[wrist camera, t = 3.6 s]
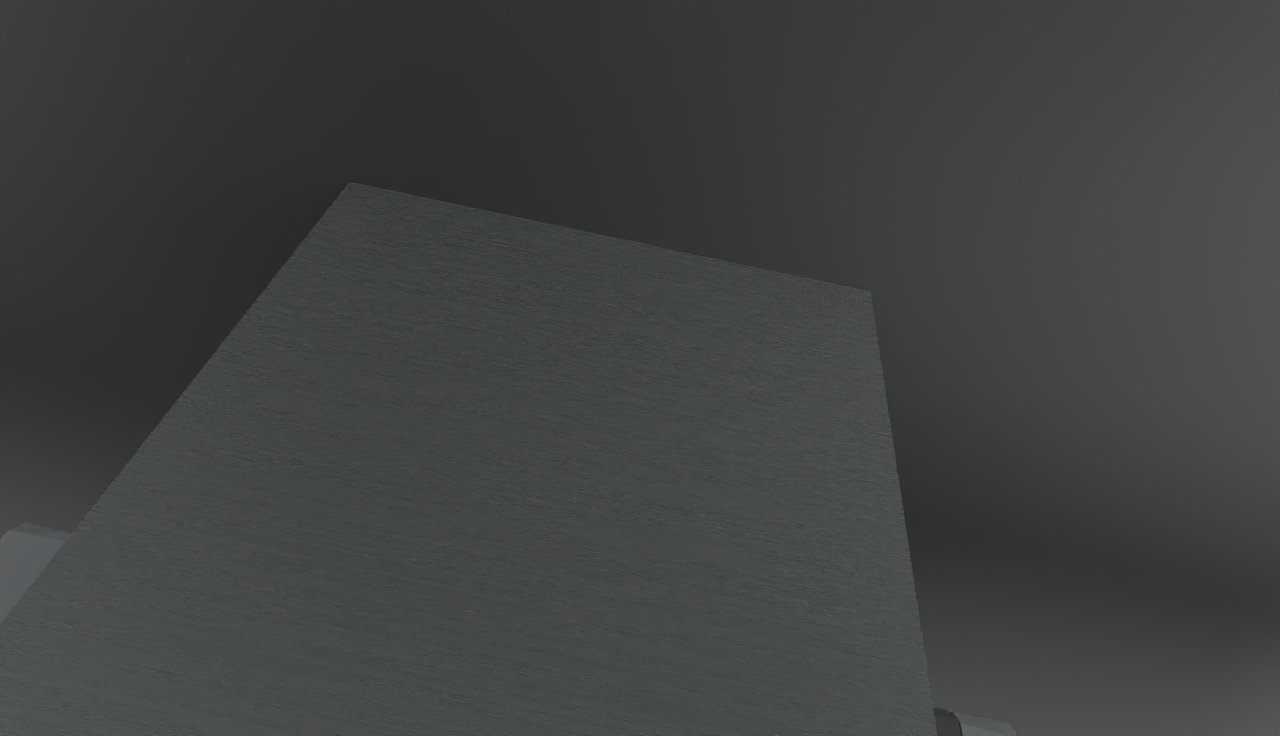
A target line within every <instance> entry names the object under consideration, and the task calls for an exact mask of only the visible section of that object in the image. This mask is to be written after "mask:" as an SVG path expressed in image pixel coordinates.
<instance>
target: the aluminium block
mask: <svg viewBox="0 0 1280 736" xmlns="http://www.w3.org/2000/svg"><path fill="white" fill-rule="evenodd" d="M0 736H937V730H936V724H935V717H934V710H933V704H932V697H931V690H930V684H929V677H928V670H927V664H926V657H925V651H924V644H923V637H922V631H921V624H920V617H919V611H918V604H917V597H916V591H915V584H914V577H913V571H912V564H911V558H910V551H909V544H908V538H907V531H906V524H905V518H904V511H903V504H902V498H901V491H900V484H899V478H898V471H897V464H896V458H895V451H894V445H893V438H892V431H891V425H890V418H889V411H888V405H887V398H886V391H885V385H884V378H883V371H882V365H881V358H880V352H879V345H878V338H877V332H876V325H875V318H874V312H873V305H872V298H871V292H870V291H867V290H863V289H858V288H853V287H848V286H844V285H839V284H834V283H829V282H825V281H820V280H815V279H810V278H806V277H801V276H796V275H791V274H787V273H782V272H777V271H772V270H767V269H763V268H758V267H753V266H748V265H744V264H739V263H734V262H729V261H725V260H720V259H715V258H710V257H706V256H701V255H696V254H691V253H687V252H682V251H677V250H672V249H668V248H663V247H658V246H653V245H649V244H644V243H639V242H634V241H630V240H625V239H620V238H615V237H610V236H606V235H601V234H596V233H591V232H587V231H582V230H577V229H572V228H568V227H563V226H558V225H553V224H549V223H544V222H539V221H534V220H530V219H525V218H520V217H515V216H511V215H506V214H501V213H496V212H492V211H487V210H482V209H477V208H472V207H468V206H463V205H458V204H453V203H449V202H444V201H439V200H434V199H430V198H425V197H420V196H415V195H411V194H406V193H401V192H396V191H392V190H387V189H382V188H377V187H373V186H368V185H363V184H358V183H354V182H349V183H348V184H347V185H346V187H345V188H344V189H343V190H342V192H341V193H340V194H339V195H338V197H337V198H336V199H335V201H334V202H333V203H332V204H331V206H330V207H329V208H328V209H327V211H326V212H325V213H324V214H323V216H322V217H321V218H320V220H319V221H318V222H317V223H316V225H315V226H314V227H313V228H312V230H311V231H310V232H309V233H308V235H307V236H306V237H305V239H304V240H303V241H302V242H301V244H300V245H299V246H298V247H297V249H296V250H295V251H294V252H293V254H292V255H291V256H290V258H289V259H288V260H287V261H286V263H285V264H284V265H283V266H282V268H281V269H280V270H279V271H278V273H277V274H276V275H275V277H274V278H273V279H272V280H271V282H270V283H269V284H268V285H267V287H266V288H265V289H264V291H263V292H262V293H261V294H260V296H259V297H258V298H257V299H256V301H255V302H254V303H253V304H252V306H251V307H250V308H249V310H248V311H247V312H246V313H245V315H244V316H243V317H242V318H241V320H240V321H239V322H238V323H237V325H236V326H235V327H234V329H233V330H232V331H231V332H230V334H229V335H228V336H227V337H226V339H225V340H224V341H223V342H222V344H221V345H220V346H219V348H218V349H217V350H216V351H215V353H214V354H213V355H212V356H211V358H210V359H209V360H208V361H207V363H206V364H205V365H204V367H203V368H202V369H201V370H200V372H199V373H198V374H197V375H196V377H195V378H194V379H193V380H192V382H191V383H190V384H189V386H188V387H187V388H186V389H185V391H184V392H183V393H182V394H181V396H180V397H179V398H178V400H177V401H176V402H175V403H174V405H173V406H172V407H171V408H170V410H169V411H168V412H167V413H166V415H165V416H164V417H163V419H162V420H161V421H160V422H159V424H158V425H157V426H156V427H155V429H154V430H153V431H152V432H151V434H150V435H149V436H148V438H147V439H146V440H145V441H144V443H143V444H142V445H141V446H140V448H139V449H138V450H137V451H136V453H135V454H134V455H133V457H132V458H131V459H130V460H129V462H128V463H127V464H126V465H125V467H124V468H123V469H122V470H121V472H120V473H119V474H118V476H117V477H116V478H115V479H114V481H113V482H112V483H111V484H110V486H109V487H108V488H107V489H106V491H105V492H104V493H103V495H102V496H101V497H100V498H99V500H98V501H97V502H96V503H95V505H94V506H93V507H92V509H91V510H90V511H89V512H88V514H87V515H86V516H85V517H84V519H83V520H82V521H81V522H80V524H79V525H78V526H77V528H76V529H75V530H74V531H73V533H72V534H71V535H70V536H69V538H68V539H67V540H66V541H65V543H64V544H63V545H62V547H61V548H60V549H59V550H58V552H57V553H56V554H55V555H54V557H53V558H52V559H51V560H50V562H49V563H48V564H47V566H46V567H45V568H44V569H43V571H42V572H41V573H40V574H39V576H38V577H37V578H36V579H35V581H34V582H33V583H32V585H31V586H30V587H29V588H28V590H27V591H26V592H25V593H24V595H23V596H22V597H21V598H20V600H19V601H18V602H17V604H16V605H15V606H14V607H13V609H12V610H11V611H10V612H9V614H8V615H7V616H6V618H5V619H4V620H3V621H2V623H1V624H0Z"/></svg>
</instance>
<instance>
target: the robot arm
mask: <svg viewBox="0 0 1280 736" xmlns="http://www.w3.org/2000/svg"><path fill="white" fill-rule="evenodd" d="M71 534H72V532H68V531H63V530H59V529H55V528H50V527H46V526H41V525H37V524H33V523H28V522H24V523H22V524H20V525H19V526H17V527H15V528H13V529H11V530H9V531H8V532H6V533H5V534H4V535H3V536H2V537H1V539H0V624H1V623H2V621H3V620H4V619H5V618H6V616H7V615H8V614H9V612H10V611H11V610H12V609H13V607H14V606H15V605H16V604H17V602H18V601H19V600H20V598H21V597H22V596H23V595H24V593H25V592H26V591H27V590H28V588H29V587H30V586H31V585H32V583H33V582H34V581H35V579H36V578H37V577H38V576H39V574H40V573H41V572H42V571H43V569H44V568H45V567H46V566H47V564H48V563H49V562H50V560H51V559H52V558H53V557H54V555H55V554H56V553H57V552H58V550H59V549H60V548H61V547H62V545H63V544H64V543H65V541H66V540H67V539H68V538H69V536H70V535H71ZM933 710H934V717H935V724H936V730H937V736H1018V735H1017V733H1016V731H1015V730H1014V729H1013V727H1012V726H1011V724H1010V723H1007V722H1002V721H997V720H992V719H987V718H982V717H977V716H972V715H967V714H962V713H957V712H951V713H949V712H948V711H947V710H943V709H938V708H933Z"/></svg>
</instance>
